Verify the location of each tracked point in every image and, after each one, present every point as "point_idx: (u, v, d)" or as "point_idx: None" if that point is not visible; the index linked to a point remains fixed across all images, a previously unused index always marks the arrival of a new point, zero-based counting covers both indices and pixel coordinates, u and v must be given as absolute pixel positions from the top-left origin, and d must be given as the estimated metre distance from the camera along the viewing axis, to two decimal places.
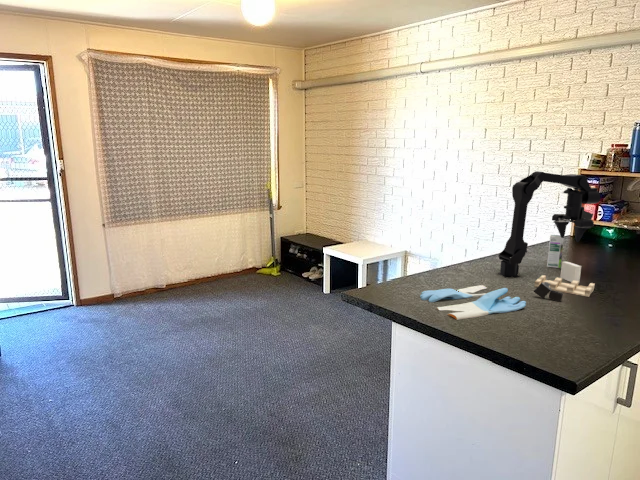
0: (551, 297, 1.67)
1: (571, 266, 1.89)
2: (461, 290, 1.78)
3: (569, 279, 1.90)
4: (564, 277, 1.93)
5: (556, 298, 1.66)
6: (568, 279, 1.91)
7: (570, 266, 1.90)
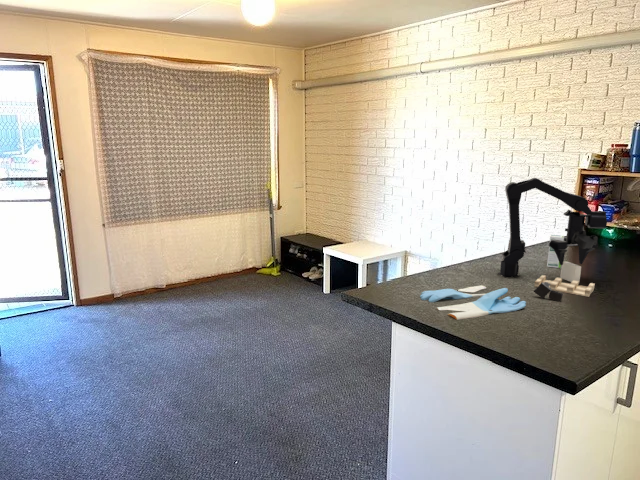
0: (551, 297, 1.67)
1: (571, 266, 1.89)
2: (461, 290, 1.78)
3: (569, 279, 1.90)
4: (564, 277, 1.93)
5: (556, 298, 1.66)
6: (568, 279, 1.91)
7: (570, 266, 1.90)
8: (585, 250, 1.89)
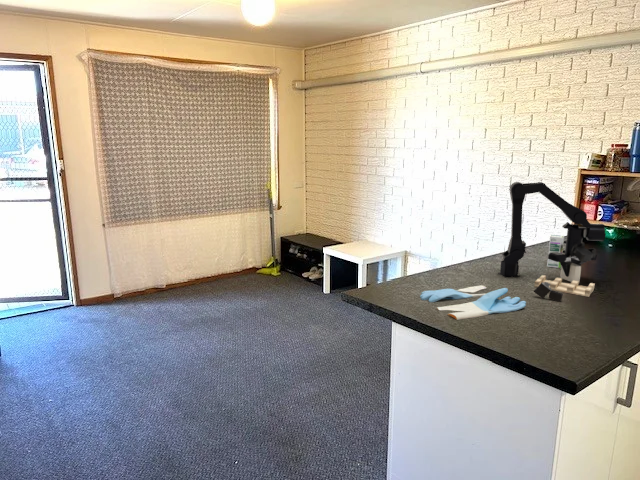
0: (551, 297, 1.67)
1: (571, 266, 1.89)
2: (461, 290, 1.78)
3: (569, 279, 1.90)
4: (564, 277, 1.93)
5: (556, 298, 1.66)
6: (568, 279, 1.91)
7: (570, 266, 1.90)
8: (577, 262, 1.90)
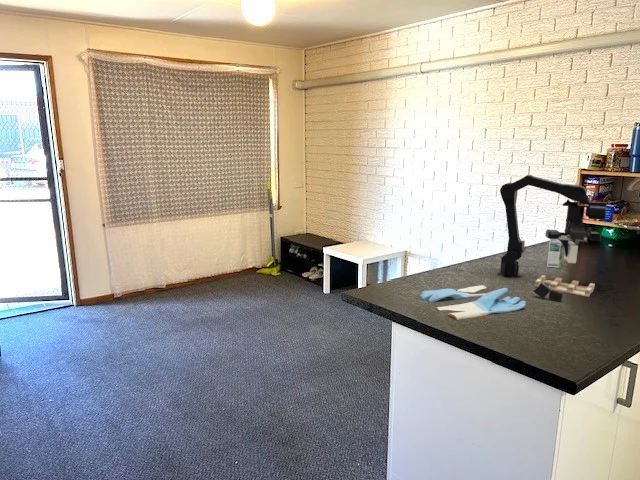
0: (551, 297, 1.67)
1: (569, 245, 1.82)
2: (461, 290, 1.78)
3: (567, 259, 1.84)
4: (565, 257, 1.86)
5: (556, 298, 1.66)
6: (566, 259, 1.84)
7: (568, 245, 1.83)
8: (577, 242, 1.82)
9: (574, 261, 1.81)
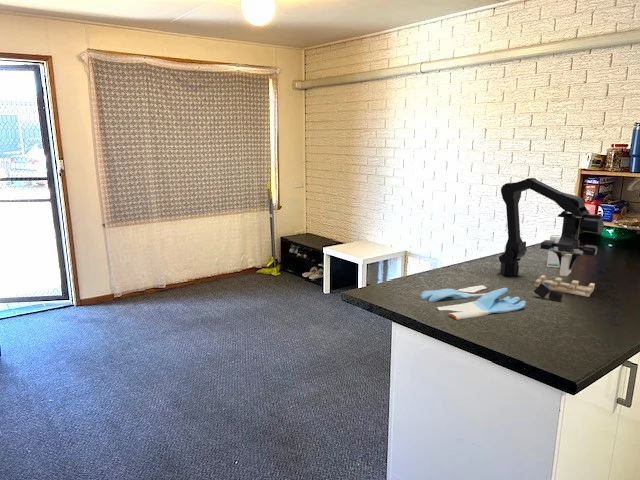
0: (551, 297, 1.67)
1: None
2: (461, 290, 1.78)
3: None
4: None
5: (556, 298, 1.66)
6: None
7: None
8: (572, 255, 1.77)
9: (565, 274, 1.77)
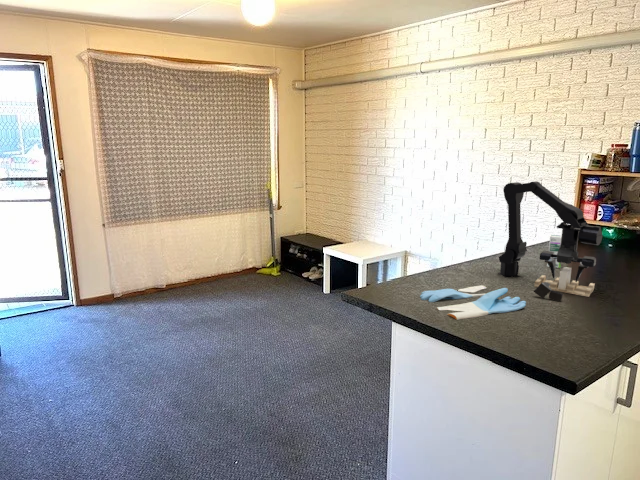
0: (551, 297, 1.67)
1: (561, 271, 1.80)
2: (461, 290, 1.78)
3: None
4: None
5: (556, 298, 1.66)
6: None
7: None
8: None
9: (563, 287, 1.78)
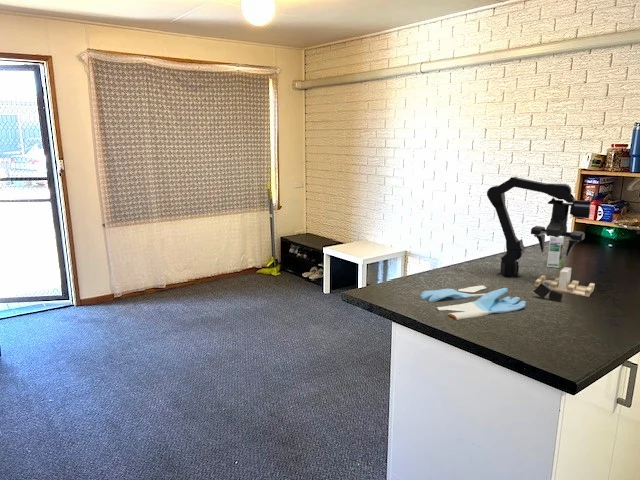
0: (551, 297, 1.67)
1: (561, 271, 1.80)
2: (461, 290, 1.78)
3: None
4: None
5: (556, 298, 1.66)
6: None
7: None
8: (569, 242, 1.82)
9: (563, 287, 1.78)
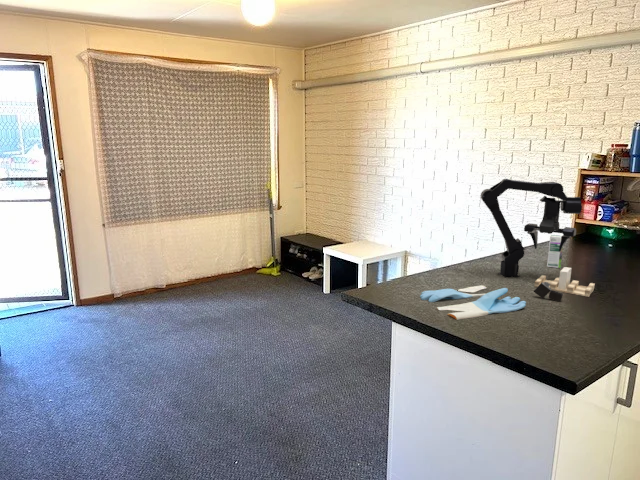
0: (551, 297, 1.67)
1: (561, 271, 1.80)
2: (461, 290, 1.78)
3: None
4: None
5: (556, 298, 1.66)
6: None
7: None
8: None
9: (563, 287, 1.78)
